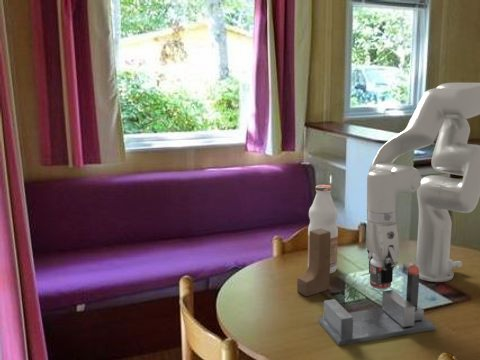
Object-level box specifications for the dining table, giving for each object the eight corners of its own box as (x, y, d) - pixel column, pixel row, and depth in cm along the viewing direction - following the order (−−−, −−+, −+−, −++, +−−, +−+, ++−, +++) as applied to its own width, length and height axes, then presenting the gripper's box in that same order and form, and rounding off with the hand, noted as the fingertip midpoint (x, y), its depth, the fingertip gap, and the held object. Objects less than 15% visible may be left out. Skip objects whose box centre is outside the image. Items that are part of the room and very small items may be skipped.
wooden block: (306, 297, 140) (307, 237, 136) (296, 291, 144) (297, 233, 140) (330, 289, 145) (331, 231, 141) (319, 284, 148) (320, 227, 144)
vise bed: (407, 307, 132) (408, 286, 131) (435, 329, 121) (436, 306, 120) (318, 321, 126) (318, 299, 125) (338, 345, 115) (339, 321, 113)
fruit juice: (307, 274, 156) (307, 189, 150) (308, 263, 165) (309, 182, 159) (337, 275, 154) (338, 189, 148) (336, 264, 163) (338, 183, 157)
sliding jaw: (405, 305, 131) (407, 257, 128) (428, 322, 121) (431, 272, 118) (381, 308, 129) (383, 260, 126) (403, 327, 120) (406, 275, 117)
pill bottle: (379, 292, 132) (380, 258, 130) (365, 284, 137) (365, 251, 135) (395, 286, 135) (396, 253, 132) (381, 279, 140) (381, 246, 137)
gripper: (412, 223, 124) (410, 288, 128) (377, 205, 140) (376, 263, 144) (385, 227, 122) (384, 293, 126) (353, 208, 138) (353, 267, 143)
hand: (380, 276), depth 135 cm, fingers closed on pill bottle, 5 cm apart
